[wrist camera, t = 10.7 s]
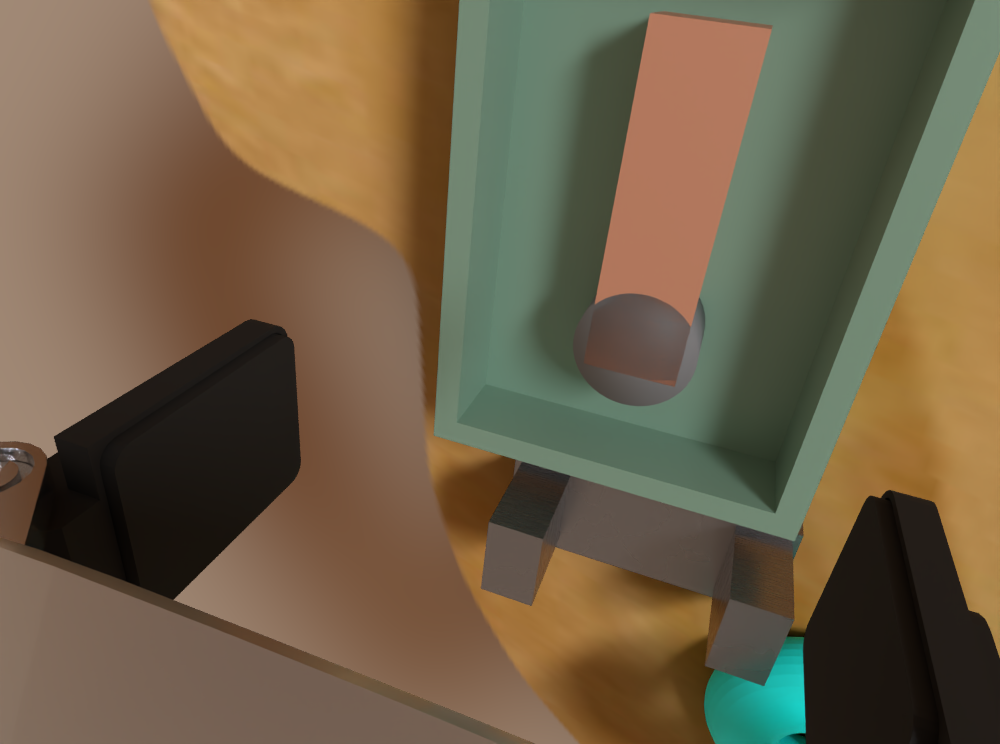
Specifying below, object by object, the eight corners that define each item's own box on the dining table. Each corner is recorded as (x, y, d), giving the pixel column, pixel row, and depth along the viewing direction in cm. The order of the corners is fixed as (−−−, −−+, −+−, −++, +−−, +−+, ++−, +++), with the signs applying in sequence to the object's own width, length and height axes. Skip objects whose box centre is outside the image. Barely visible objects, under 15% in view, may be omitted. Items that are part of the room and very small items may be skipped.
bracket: (802, 521, 31) (806, 613, 26) (769, 600, 33) (768, 696, 29) (523, 441, 34) (483, 510, 29) (512, 518, 36) (474, 593, 32)
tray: (792, 479, 30) (794, 541, 27) (468, 390, 34) (433, 435, 30) (1025, -113, 19) (1077, -135, 16) (515, -148, 23) (469, -173, 20)
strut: (647, 9, 23) (631, 10, 21) (790, 27, 22) (792, 31, 20) (582, 355, 30) (564, 388, 27) (689, 383, 29) (681, 420, 26)
